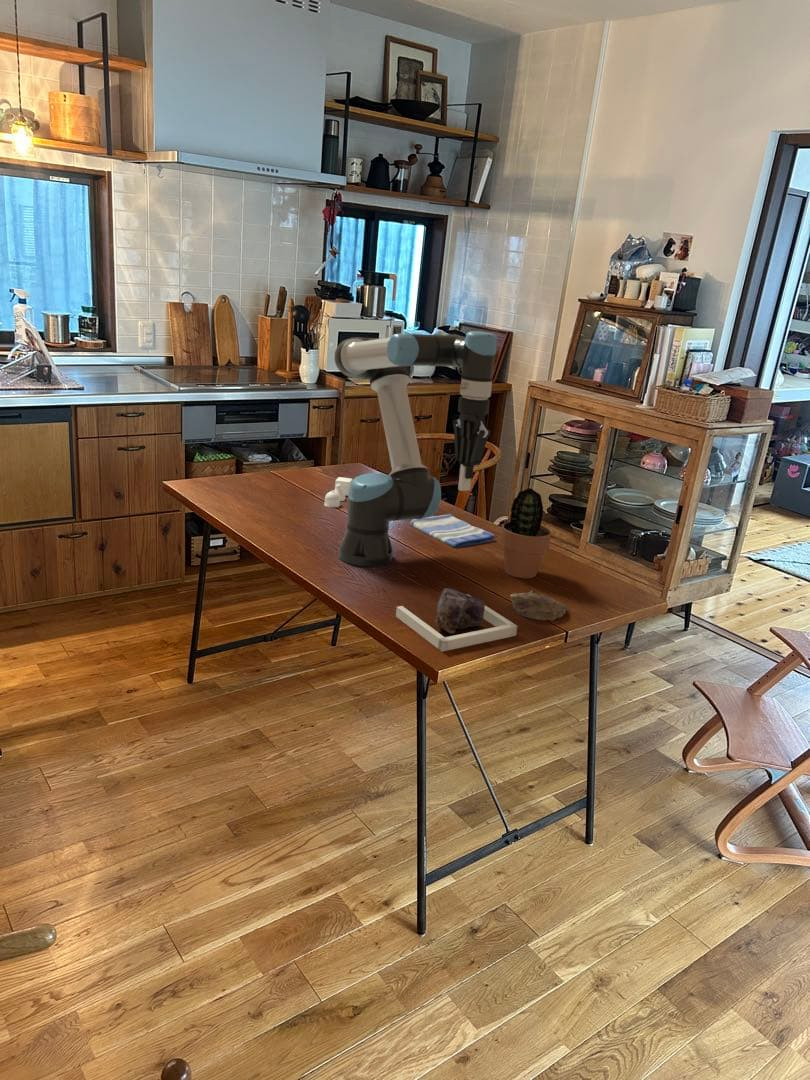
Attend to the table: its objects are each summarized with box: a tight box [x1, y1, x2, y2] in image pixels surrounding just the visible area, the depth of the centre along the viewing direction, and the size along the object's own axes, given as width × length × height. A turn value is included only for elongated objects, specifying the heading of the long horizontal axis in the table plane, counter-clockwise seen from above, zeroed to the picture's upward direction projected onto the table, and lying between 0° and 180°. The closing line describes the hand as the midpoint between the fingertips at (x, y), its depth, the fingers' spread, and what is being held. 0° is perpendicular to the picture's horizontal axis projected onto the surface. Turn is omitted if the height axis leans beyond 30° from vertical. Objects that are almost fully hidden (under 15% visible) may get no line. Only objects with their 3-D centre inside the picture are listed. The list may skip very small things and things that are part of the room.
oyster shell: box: [509, 589, 568, 621], centre depth 204 cm, size 11×15×6 cm
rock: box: [434, 587, 486, 635], centre depth 191 cm, size 12×9×10 cm
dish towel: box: [410, 513, 496, 549], centre depth 257 cm, size 17×24×3 cm
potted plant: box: [500, 487, 553, 579], centre depth 225 cm, size 14×14×25 cm
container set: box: [323, 476, 353, 509], centre depth 280 cm, size 20×5×6 cm, turn 170°
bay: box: [395, 594, 518, 653], centre depth 192 cm, size 20×21×2 cm
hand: (464, 489), depth 207 cm, fingers closed
